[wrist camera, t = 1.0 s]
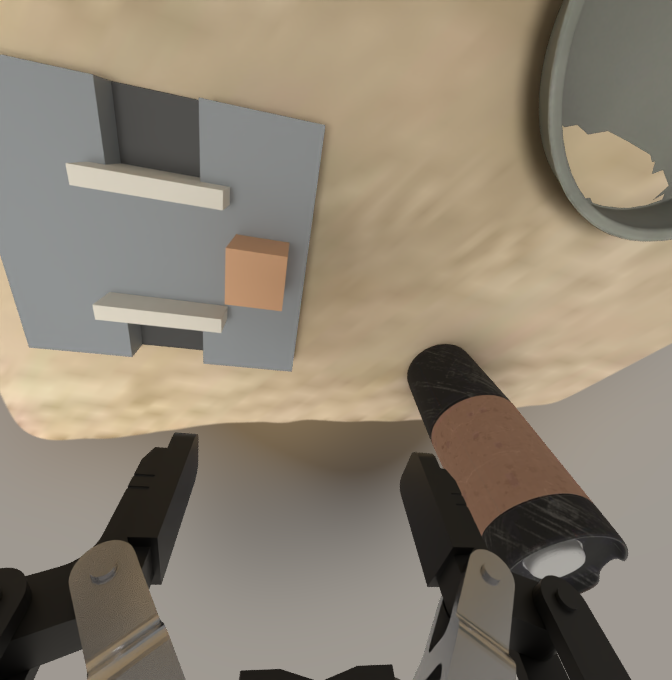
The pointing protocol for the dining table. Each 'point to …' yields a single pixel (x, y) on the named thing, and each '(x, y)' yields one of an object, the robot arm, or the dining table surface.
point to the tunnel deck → (147, 215)
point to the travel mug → (509, 474)
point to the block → (255, 272)
